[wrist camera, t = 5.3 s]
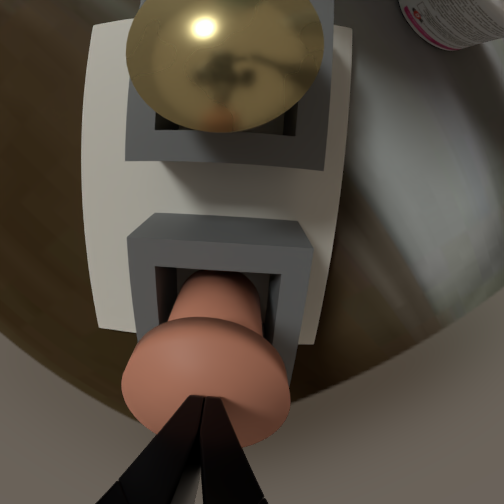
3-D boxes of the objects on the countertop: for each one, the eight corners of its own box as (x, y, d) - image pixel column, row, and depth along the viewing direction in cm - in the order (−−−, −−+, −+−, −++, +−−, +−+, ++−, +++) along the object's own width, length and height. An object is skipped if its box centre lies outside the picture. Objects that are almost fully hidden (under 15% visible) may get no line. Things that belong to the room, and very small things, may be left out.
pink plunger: (280, 255, 12) (304, 345, 7) (269, 350, 14) (278, 452, 8) (162, 248, 12) (107, 329, 7) (168, 343, 13) (137, 440, 8)
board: (348, 32, 11) (383, 0, 7) (311, 338, 17) (327, 390, 13) (98, 28, 11) (55, 2, 7) (102, 321, 16) (73, 367, 12)
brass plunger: (294, 35, 10) (325, -27, 5) (286, 139, 12) (317, 140, 7) (181, 30, 10) (140, -31, 5) (172, 134, 12) (118, 132, 6)
